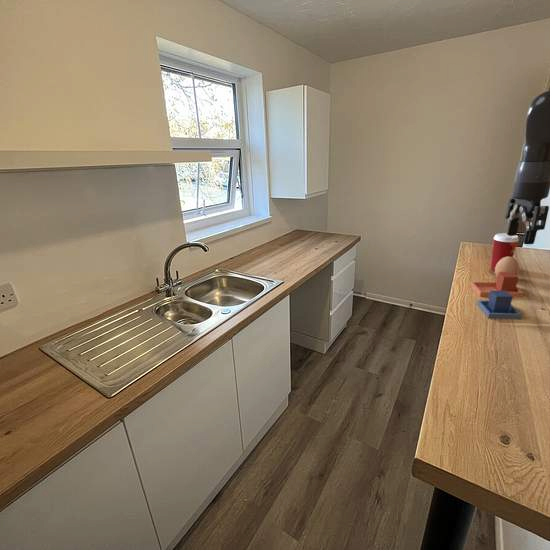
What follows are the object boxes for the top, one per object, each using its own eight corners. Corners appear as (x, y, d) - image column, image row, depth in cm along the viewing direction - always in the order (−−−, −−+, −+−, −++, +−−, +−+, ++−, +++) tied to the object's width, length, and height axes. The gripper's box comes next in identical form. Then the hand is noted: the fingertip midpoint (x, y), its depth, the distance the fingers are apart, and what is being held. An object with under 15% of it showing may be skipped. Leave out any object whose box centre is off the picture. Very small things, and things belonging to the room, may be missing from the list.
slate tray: (506, 306, 93) (507, 300, 92) (520, 320, 85) (522, 314, 84) (476, 305, 94) (477, 300, 94) (487, 319, 87) (489, 313, 86)
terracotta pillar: (508, 288, 102) (512, 272, 100) (514, 293, 98) (518, 277, 96) (494, 288, 103) (498, 272, 100) (500, 293, 99) (504, 277, 97)
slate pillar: (501, 308, 91) (505, 290, 89) (508, 315, 87) (512, 296, 85) (486, 307, 92) (490, 290, 90) (492, 314, 88) (496, 296, 86)
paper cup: (514, 275, 112) (523, 238, 106) (489, 273, 114) (497, 238, 109) (507, 267, 118) (515, 232, 113) (484, 266, 121) (491, 232, 116)
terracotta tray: (509, 286, 104) (510, 281, 103) (522, 297, 96) (523, 292, 95) (470, 286, 106) (471, 281, 106) (479, 297, 99) (480, 292, 98)
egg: (488, 278, 111) (493, 255, 108) (503, 275, 112) (508, 252, 109) (505, 285, 105) (511, 261, 101) (521, 281, 106) (527, 258, 103)
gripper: (569, 181, 70) (551, 246, 77) (533, 175, 83) (520, 232, 89) (532, 183, 72) (517, 247, 78) (502, 177, 85) (492, 233, 91)
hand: (519, 239), depth 84 cm, fingers open, 8 cm apart
